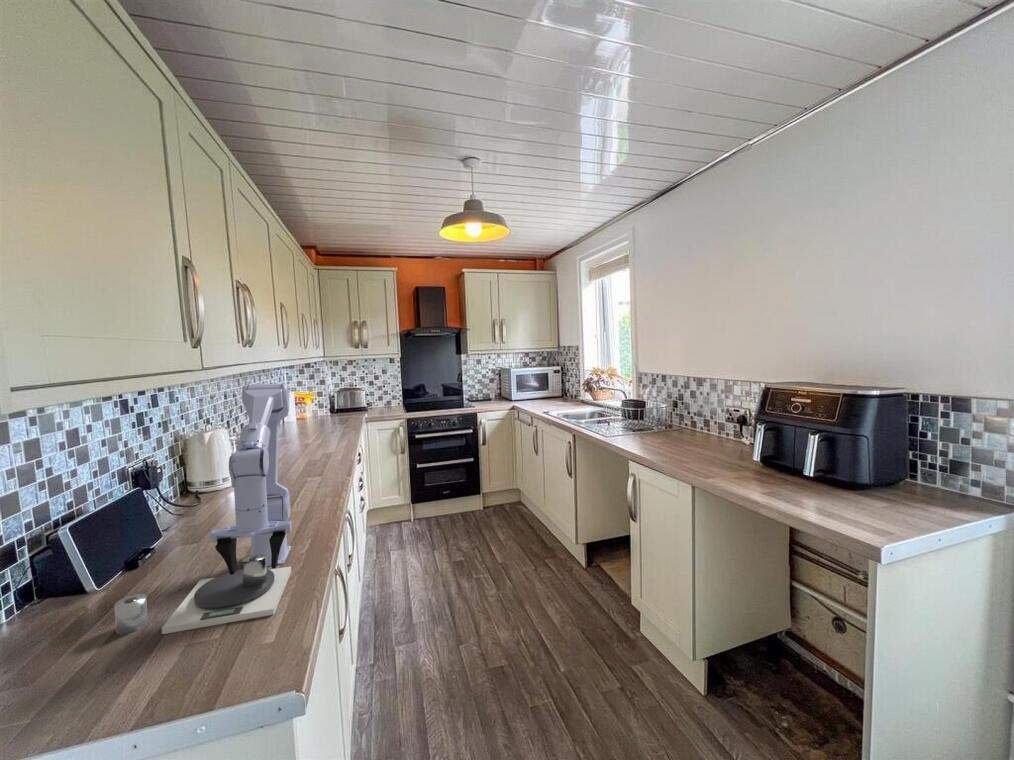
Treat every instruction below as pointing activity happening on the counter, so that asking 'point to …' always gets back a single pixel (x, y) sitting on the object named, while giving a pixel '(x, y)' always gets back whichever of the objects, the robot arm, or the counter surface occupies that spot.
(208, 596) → the scale pan
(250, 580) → the cylinder
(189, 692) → the counter surface
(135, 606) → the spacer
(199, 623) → the scale base
